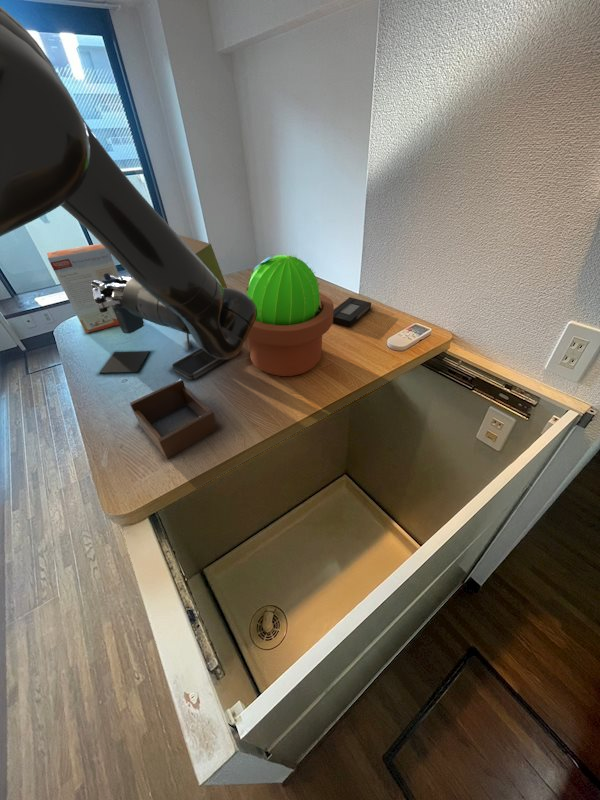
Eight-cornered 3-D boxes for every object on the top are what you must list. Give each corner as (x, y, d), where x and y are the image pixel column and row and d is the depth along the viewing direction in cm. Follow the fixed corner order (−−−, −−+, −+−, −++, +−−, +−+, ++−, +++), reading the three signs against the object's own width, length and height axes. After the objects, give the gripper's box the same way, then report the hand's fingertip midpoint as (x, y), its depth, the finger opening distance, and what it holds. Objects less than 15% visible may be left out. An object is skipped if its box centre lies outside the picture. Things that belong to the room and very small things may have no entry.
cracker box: (132, 313, 102) (105, 241, 88) (137, 321, 98) (109, 247, 84) (83, 325, 96) (45, 250, 82) (85, 334, 92) (46, 257, 78)
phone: (238, 348, 83) (190, 376, 74) (239, 352, 84) (191, 380, 75) (217, 339, 87) (169, 364, 78) (218, 342, 87) (171, 368, 79)
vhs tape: (370, 308, 102) (371, 302, 100) (349, 327, 93) (350, 321, 92) (349, 303, 105) (349, 297, 104) (326, 320, 96) (327, 314, 95)
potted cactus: (345, 349, 84) (354, 246, 68) (298, 395, 71) (296, 281, 54) (277, 327, 94) (270, 232, 77) (224, 364, 80) (202, 258, 63)
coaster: (100, 373, 78) (99, 372, 77) (115, 353, 84) (114, 351, 84) (137, 373, 78) (137, 371, 77) (150, 352, 84) (149, 351, 84)
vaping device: (119, 333, 69) (95, 275, 61) (138, 323, 73) (118, 267, 65) (128, 335, 68) (105, 276, 61) (147, 324, 72) (127, 268, 64)
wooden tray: (217, 428, 63) (211, 406, 59) (167, 458, 58) (156, 436, 54) (188, 400, 70) (181, 378, 66) (140, 425, 64) (129, 402, 60)
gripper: (183, 267, 59) (125, 253, 66) (113, 295, 50) (56, 275, 58) (193, 306, 64) (138, 289, 71) (131, 337, 55) (76, 314, 63)
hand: (102, 283), depth 65 cm, fingers closed on vaping device, 2 cm apart
